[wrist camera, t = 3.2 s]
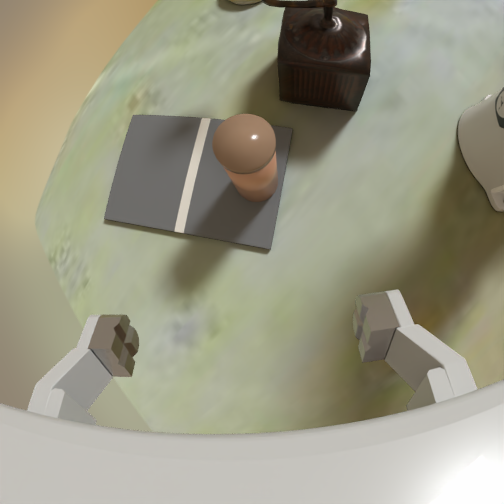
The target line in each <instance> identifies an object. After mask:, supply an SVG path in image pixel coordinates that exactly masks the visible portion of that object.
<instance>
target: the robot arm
mask: <svg viewBox="0 0 504 504" xmlns="http://www.w3.org/2000/svg"><path fill="white" fill-rule="evenodd" d="M458 138H459V144H460V148H461V151H462V154H463V157H464V159H465V161H466V163H467V165H468V167H469V169H470V171H471V172H472V174H473V175H474V176H475V178H476V179H477V180H478V181H479V183H480V184H481V185H482V186H483V188H484V189H485V191H486V193H487V196H488V198H489V201H490V203H491V205H492V207H493V208H494V209H495V210H496V211H502V212H504V202H503V200H504V87H503V88H502V89H501V90H499V91H498V92H496V93H495V94H493V95H488V96H486V97H485V98H484V99H483V100H482V101H481V103H479V104H477V105H474V106H472V107H470V108H468V109H466V110H465V111H464V113H463V114H462V116H461V118H460V121H459V125H458ZM355 304H356V307H357V309H356V310H355V311H354V313H353V328H354V333H355V337H356V338H357V339H359V340H360V342H359V346H358V348H359V352H360V356H361V360H362V363H363V362H370V361H377V360H383V359H385V361H386V362H387V363H388V364H389V365H390V366H391V367H392V368H393V369H394V370H395V371H396V372H397V373H398V374H399V375H400V376H401V377H402V378H403V379H404V381H405V382H406V383H407V384H408V385H409V386H410V387H411V388H412V389H413V390H414V391H415V393H414V395H413V396H412V398H411V399H410V401H409V402H408V404H407V405H406V407H407V410H408V411H404V412H400V413H396V414H392V415H387V416H383V417H378V418H373V419H368V420H363V421H357V422H351V423H346V424H339V425H333V426H326V427H318V428H310V429H301V430H291V431H280V432H266V433H246V434H184V433H164V432H150V431H139V430H129V429H121V428H112V427H105V426H98V425H96V419H95V417H93V416H92V415H90V413H89V412H87V410H88V409H89V408H90V406H91V405H92V404H93V402H94V401H95V400H96V399H97V397H98V396H99V394H100V393H101V392H102V391H103V390H104V388H105V387H106V386H107V385H108V383H109V382H110V380H111V379H112V378H113V377H112V376H117V377H132V374H133V369H134V365H135V361H134V359H133V356H134V355H135V354H136V353H137V352H138V348H139V337H138V334H137V332H136V330H135V328H133V327H132V326H130V325H129V324H130V319H129V318H128V316H127V315H90V316H89V317H88V319H87V321H86V324H85V326H84V329H83V332H82V334H81V337H80V339H79V342H78V345H77V347H76V349H72V350H71V351H70V352H69V353H68V354H67V355H66V356H65V357H64V358H63V359H62V360H60V362H58V364H56V365H55V366H54V367H53V368H52V369H51V370H50V371H49V372H48V373H47V374H46V375H45V376H44V377H43V378H42V379H41V380H40V381H39V382H38V383H37V384H36V386H35V388H34V391H33V394H32V397H31V400H30V403H29V406H28V409H27V411H26V410H22V409H18V408H15V407H11V406H8V405H4V404H1V403H0V504H504V379H503V380H501V381H498V382H496V383H493V384H491V385H488V386H485V387H483V388H480V389H477V387H476V384H475V382H474V379H473V377H472V374H471V372H470V369H469V367H468V365H467V362H466V360H465V359H464V358H463V357H462V356H460V355H459V354H458V353H456V352H455V351H454V350H452V349H451V348H450V347H448V346H447V345H446V344H444V343H443V342H442V341H440V340H439V339H438V338H436V337H435V336H434V335H432V334H431V333H430V332H428V331H427V330H426V329H424V328H423V327H422V326H420V325H419V324H414V322H413V320H412V317H411V315H410V313H409V310H408V308H407V306H406V304H405V301H404V299H403V297H402V295H401V293H400V291H399V290H398V289H397V290H391V291H385V292H376V293H369V294H362V295H357V297H356V301H355Z"/></svg>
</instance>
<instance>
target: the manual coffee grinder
mask: <svg viewBox="0 0 504 504" xmlns="http://www.w3.org/2000/svg"><path fill="white" fill-rule="evenodd" d="M261 1H262V2H263V3H265V4H267V5H269V6H274V7H286V8H285V10H284V14H283V19H282V26H281V32H280V37H279V42H278V73H279V85H280V100H282V101H286V102H290V103H295V104H302V105H310V106H317V107H324V108H333V109H341V110H349V111H357V109H358V106H359V104H360V101H361V98H362V96H363V93H364V91H365V88H366V85H367V82H368V79H369V77H370V66H371V53H370V31H369V23H368V15H366V14H362V13H357V12H352V11H347V10H342V9H339V8H335V6H336V5H337V0H308V1H279V0H261Z"/></svg>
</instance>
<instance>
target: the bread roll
mask: <svg viewBox="0 0 504 504" xmlns="http://www.w3.org/2000/svg"><path fill="white" fill-rule="evenodd" d="M229 1H231V2H233V3H235V4H240V5H246V4H253V3H257V2H259V1H261V0H229Z"/></svg>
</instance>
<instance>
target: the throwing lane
mask: <svg viewBox="0 0 504 504" xmlns="http://www.w3.org/2000/svg"><path fill="white" fill-rule="evenodd" d="M224 121H225V120H221V119H211V118H196V117H180V116H159V115H133V117H132V120H131V123H130V126H129V129H128V132H127V135H126V138H125V141H124V144H123V148H122V151H121V155H120V158H119V161H118V165H117V169H116V172H115V176H114V180H113V183H112V187H111V191H110V195H109V200H108V204H107V208H106V212H105V217H104V219H107V220H113V221H118V222H124V223H129V224H135V225H140V226H146V227H151V228H157V229H162V230H168V231H173V232H179V233H184V234H190V235H195V236H201V237H206V238H212V239H217V240H222V241H228V242H233V243H239V244H244V245H249V246H255V247H260V248H266V249H271V245H272V240H273V235H274V229H275V224H276V219H277V213H278V208H279V202H280V197H281V191H282V186H283V180H284V175H285V169H286V164H287V158H288V152H289V147H290V141H291V135H292V128H286V127H279V126H272V125H270V126H271V127H272V129H273V131H274V134H275V139H276V150H275V151H276V161H277V171H278V187H277V189H276V191H275V193H274V194H273V195H272V196H271V197H270V198H269V199H267V200H265V201H261V202H252V201H248V200H246V199H245V198H243V197H242V196H241V195H240V194H239V192H238V191H237V189H236V187H235V186H234V184H233V182H232V180H231V179H230V177H229V175H228V174H227V172H226V170H225V169H224V167H223V166H222V165H221V164H220V163H219V161H218V160H217V158H216V156H215V154H214V152H213V147H212V141H213V136H214V133H215V131H216V130H217V128H218V127H219V125H220V124H221V123H222V122H224Z"/></svg>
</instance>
